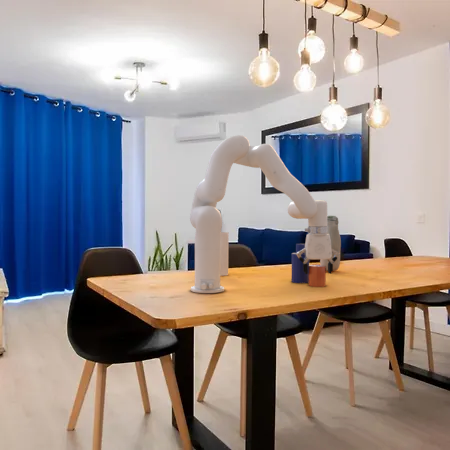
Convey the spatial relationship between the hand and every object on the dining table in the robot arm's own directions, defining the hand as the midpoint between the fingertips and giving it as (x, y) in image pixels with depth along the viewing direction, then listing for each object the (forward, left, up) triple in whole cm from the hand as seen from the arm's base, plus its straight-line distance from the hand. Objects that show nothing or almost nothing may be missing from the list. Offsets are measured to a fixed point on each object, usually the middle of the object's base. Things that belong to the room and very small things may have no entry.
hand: (317, 273), depth 176 cm
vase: (+33, +39, -5) cm, 52 cm away
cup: (0, 0, -5) cm, 5 cm away
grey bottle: (+43, -17, -5) cm, 46 cm away
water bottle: (+9, +5, -5) cm, 11 cm away
